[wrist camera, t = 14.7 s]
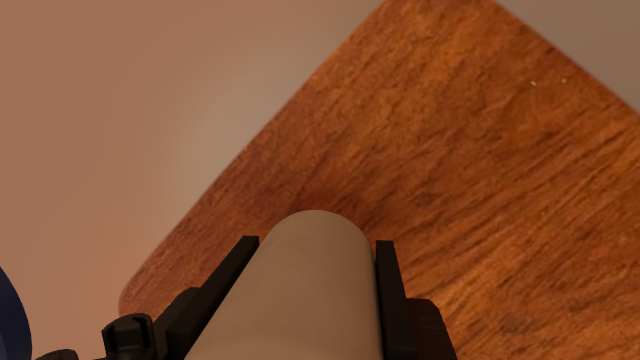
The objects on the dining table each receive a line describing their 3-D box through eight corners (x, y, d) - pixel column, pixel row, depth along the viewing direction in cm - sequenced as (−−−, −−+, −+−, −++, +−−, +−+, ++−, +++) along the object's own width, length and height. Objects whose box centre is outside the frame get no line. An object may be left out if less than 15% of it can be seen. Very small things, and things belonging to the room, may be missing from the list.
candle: (240, 245, 16) (55, 476, 6) (331, 185, 14) (277, 360, 5) (305, 328, 17) (230, 648, 7) (397, 278, 15) (463, 588, 6)
